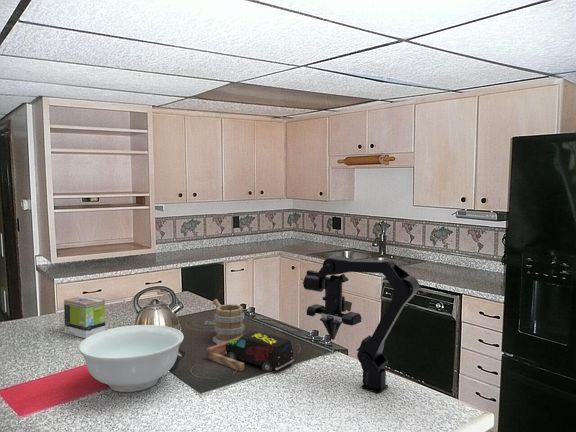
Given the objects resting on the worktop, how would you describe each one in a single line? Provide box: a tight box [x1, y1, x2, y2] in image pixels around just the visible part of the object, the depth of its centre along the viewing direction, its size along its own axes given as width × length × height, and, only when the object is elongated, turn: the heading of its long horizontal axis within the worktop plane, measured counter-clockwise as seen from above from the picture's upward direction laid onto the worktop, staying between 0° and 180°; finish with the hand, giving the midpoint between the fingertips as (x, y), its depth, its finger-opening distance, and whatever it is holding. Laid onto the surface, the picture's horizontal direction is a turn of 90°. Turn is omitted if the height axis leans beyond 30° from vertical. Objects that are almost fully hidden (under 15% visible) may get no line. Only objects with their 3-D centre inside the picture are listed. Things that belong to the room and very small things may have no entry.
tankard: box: [212, 298, 245, 345], centre depth 199 cm, size 20×13×15 cm, turn 34°
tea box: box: [63, 295, 106, 339], centre depth 204 cm, size 15×10×15 cm, turn 58°
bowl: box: [78, 324, 184, 393], centre depth 156 cm, size 32×32×15 cm
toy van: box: [225, 330, 294, 372], centre depth 174 cm, size 11×25×10 cm, turn 54°
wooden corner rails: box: [206, 336, 245, 372], centre depth 178 cm, size 18×18×4 cm
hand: (332, 339), depth 161 cm, fingers closed
